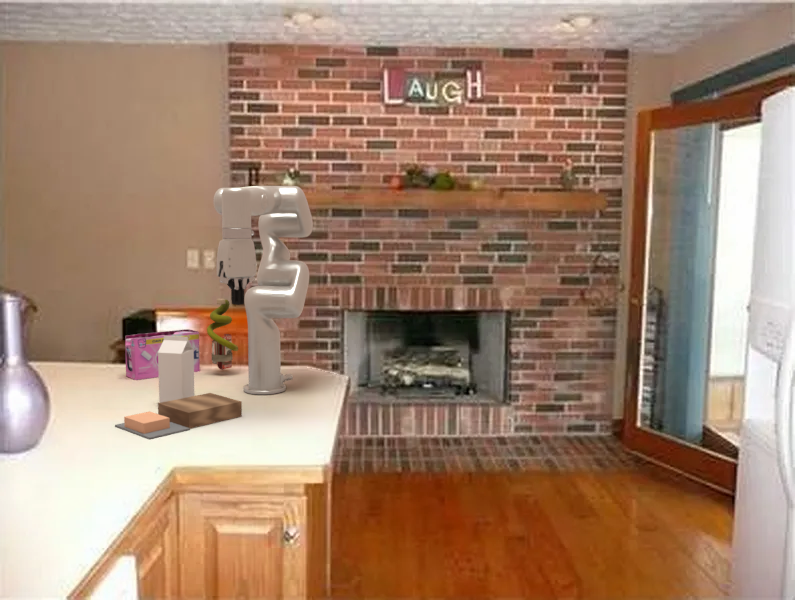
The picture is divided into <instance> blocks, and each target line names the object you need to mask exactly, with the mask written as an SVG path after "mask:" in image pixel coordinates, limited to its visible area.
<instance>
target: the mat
mask: <svg viewBox="0 0 795 600" xmlns="http://www.w3.org/2000/svg"><path fill="white" fill-rule="evenodd" d="M114 427H115V428H119V429H120V430H123V431H125V432H126V431H127V432H129V433H132V434H135V435H137V436H140V437H143V438H145V439H148V440H152V439H157V438H161V437H164V436H168V435H169V436H170V435H174V434H178V433H181V432H187V431H190V430H191V428H188V427H185V426H182V425H179V424H176V423H173V422H170V428H167V429H162V430H158V431H154V432H149V433H145V434H143V433H141V432H138V431H135V430H132V429H130V428H127V427H125V425H124V422H122V423H117V424H114Z"/></svg>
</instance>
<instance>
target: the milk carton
mask: <svg viewBox="0 0 795 600" xmlns="http://www.w3.org/2000/svg"><path fill="white" fill-rule="evenodd" d="M158 370H159V377H158V400H159V402H158V403H161V402H166V401H172V400H177V399H182V398H187V397H192V396H195V372H194V350H193V348H192V346H191V345H190V343H189V342H188V337H178V336H164V341H163V343H162V345H161V347H160V349H159V351H158Z"/></svg>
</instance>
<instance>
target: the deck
mask: <svg viewBox="0 0 795 600" xmlns="http://www.w3.org/2000/svg"><path fill="white" fill-rule="evenodd" d="M242 404H243V403H242V401H241V400H238V399H234V398H230V397H226V396H222V395H219V394H215V393H213V392H208V393H203V394H198V395H194V396H192V397H187V398H182V399H177V400H172V401H166V402H161V403H159V402H157V414H159V415H162V416H165V417H168V418H170V422H173V423H176V424H179V425H182V426H185V427H188V428H190V429H194V428H198V427H203V426H206V425H210V424H215V423H218V422H223V421H227V420H231V419H236V418H240V417H242V415H243V413H242V411H243V409H242V407H243V405H242Z"/></svg>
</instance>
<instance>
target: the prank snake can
mask: <svg viewBox="0 0 795 600" xmlns="http://www.w3.org/2000/svg"><path fill="white" fill-rule="evenodd" d="M216 304H217V305H220V306H218V307H217V308H215V309H214V310H213V311H211V312H210V314H209V318H210V320H211V321H212V323H210V324H209V325H208V326H207V327H206V332H207V333H206V335H208V337H210V338H211V349H212V350H211V351H212V352H211V361H212V364H214V365H217V367H218V369H219V370H225V369H230V368H232V367H233V363H232V362H233V361H232V360H233V359H234V358H233V351H234V352H238V351H239V346H238V345H237V344H235V343H233V342H232V341H233V339H232V334H231V333H223V336H220V335H218V334H217V333H216V332H214V330H216V329H218V328H221V327H225V326H228V325H230V324H231V323H232V321H233V318H232V317H231V316H230V315H225V313H226V312H227V311H228V310H229V308H230V306H231V305H230V301H229V300H228V299H226V298H216Z"/></svg>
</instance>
